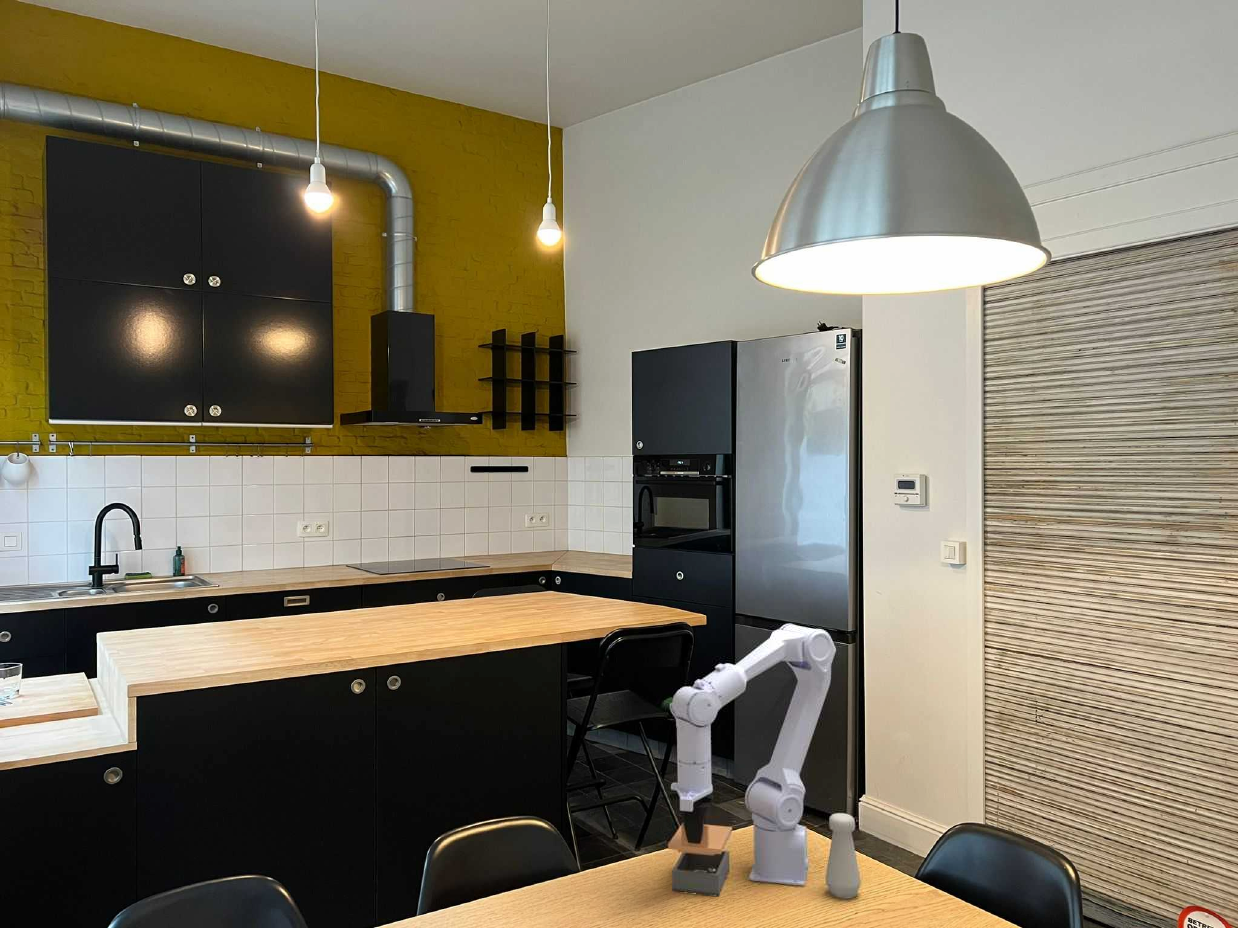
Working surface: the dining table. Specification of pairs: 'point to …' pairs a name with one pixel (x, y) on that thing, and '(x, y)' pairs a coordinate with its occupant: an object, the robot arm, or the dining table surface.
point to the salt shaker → (842, 858)
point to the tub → (700, 873)
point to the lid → (702, 840)
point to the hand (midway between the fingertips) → (695, 840)
